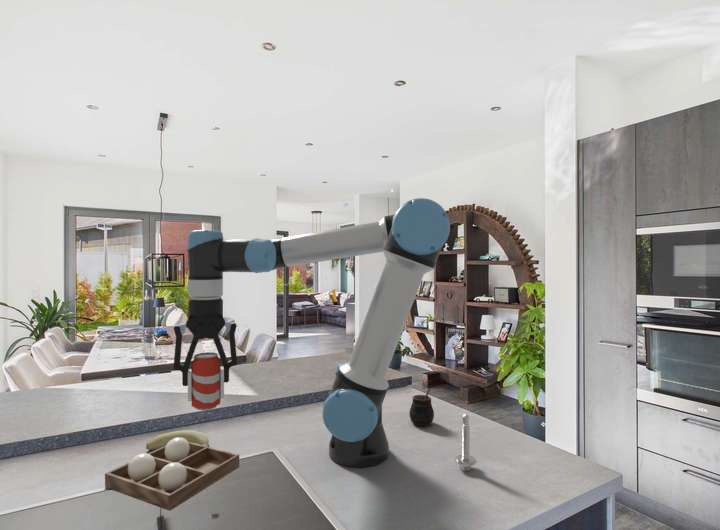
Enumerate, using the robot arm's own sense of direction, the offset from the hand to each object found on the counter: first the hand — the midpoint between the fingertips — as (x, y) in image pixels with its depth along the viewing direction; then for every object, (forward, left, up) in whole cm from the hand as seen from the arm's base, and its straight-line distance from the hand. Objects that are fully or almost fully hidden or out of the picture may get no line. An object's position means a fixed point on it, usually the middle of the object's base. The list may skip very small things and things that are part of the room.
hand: (206, 397), depth 101 cm
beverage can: (0, 0, -2) cm, 2 cm away
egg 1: (+9, +10, -17) cm, 22 cm away
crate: (+5, +5, -17) cm, 19 cm away
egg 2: (+9, 0, -17) cm, 19 cm away
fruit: (+17, -7, -18) cm, 25 cm away
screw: (-53, -28, -18) cm, 63 cm away
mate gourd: (-35, -50, -18) cm, 64 cm away
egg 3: (0, +10, -17) cm, 19 cm away
